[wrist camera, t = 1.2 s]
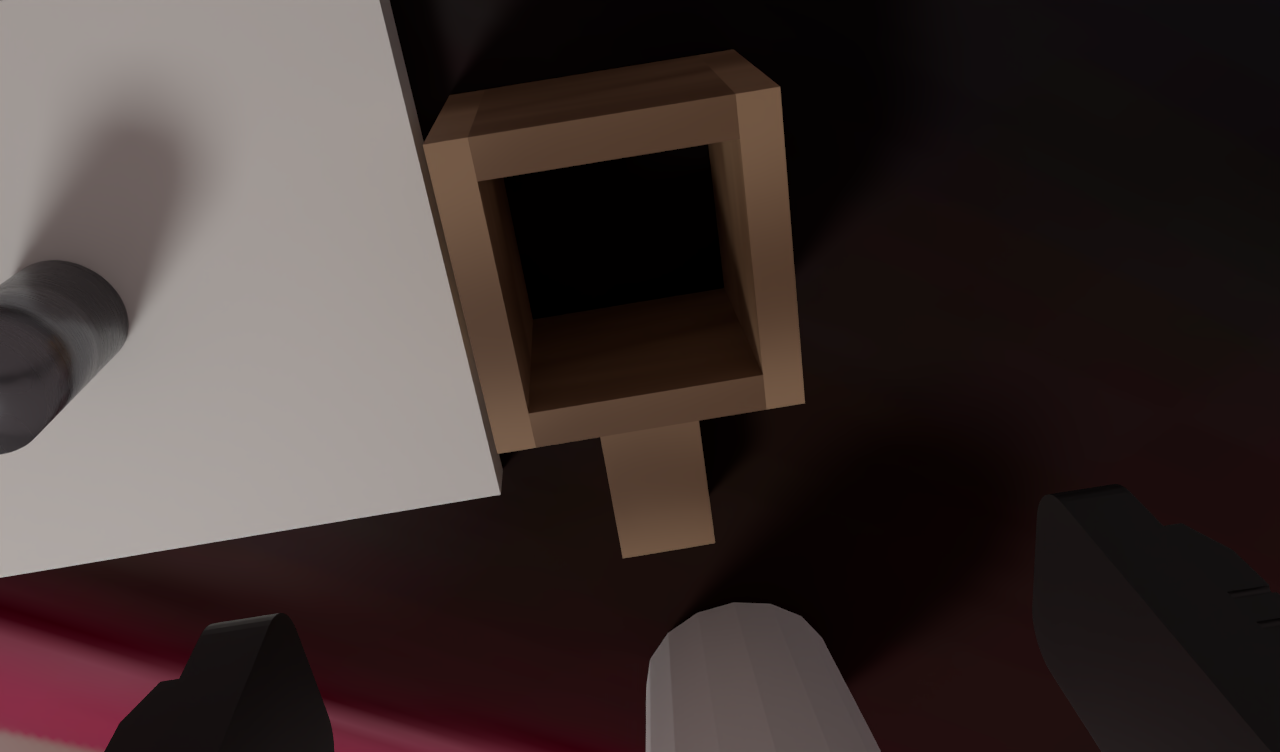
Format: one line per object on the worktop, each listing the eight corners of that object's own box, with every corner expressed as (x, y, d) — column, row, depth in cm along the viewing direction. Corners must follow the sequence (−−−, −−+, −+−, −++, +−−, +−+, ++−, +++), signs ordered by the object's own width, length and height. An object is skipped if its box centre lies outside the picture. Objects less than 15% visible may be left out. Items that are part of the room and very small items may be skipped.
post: (102, 251, 21) (12, 321, 18) (145, 357, 23) (69, 443, 19) (-16, 270, 21) (-130, 344, 18) (34, 376, 23) (-65, 465, 19)
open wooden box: (449, 95, 22) (422, 144, 17) (733, 49, 22) (780, 86, 17) (546, 526, 27) (545, 651, 22) (776, 488, 27) (820, 605, 22)
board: (375, -60, 20) (365, -58, 19) (502, 470, 26) (500, 494, 25) (-444, 71, 20) (-500, 80, 19) (-134, 575, 26) (-164, 604, 25)
